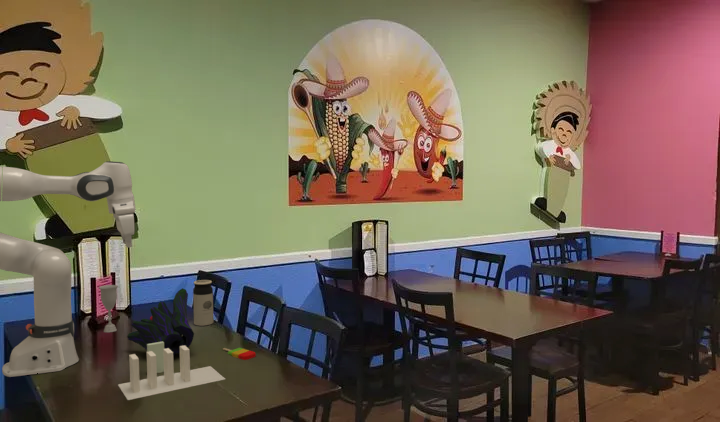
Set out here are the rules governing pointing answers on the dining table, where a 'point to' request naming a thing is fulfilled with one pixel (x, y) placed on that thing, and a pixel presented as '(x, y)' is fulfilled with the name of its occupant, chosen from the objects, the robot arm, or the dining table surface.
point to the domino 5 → (185, 363)
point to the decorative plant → (165, 325)
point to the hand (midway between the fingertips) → (127, 245)
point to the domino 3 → (151, 370)
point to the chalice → (109, 303)
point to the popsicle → (241, 353)
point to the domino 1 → (134, 373)
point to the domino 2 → (157, 354)
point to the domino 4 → (168, 366)
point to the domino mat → (196, 378)
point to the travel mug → (203, 302)
